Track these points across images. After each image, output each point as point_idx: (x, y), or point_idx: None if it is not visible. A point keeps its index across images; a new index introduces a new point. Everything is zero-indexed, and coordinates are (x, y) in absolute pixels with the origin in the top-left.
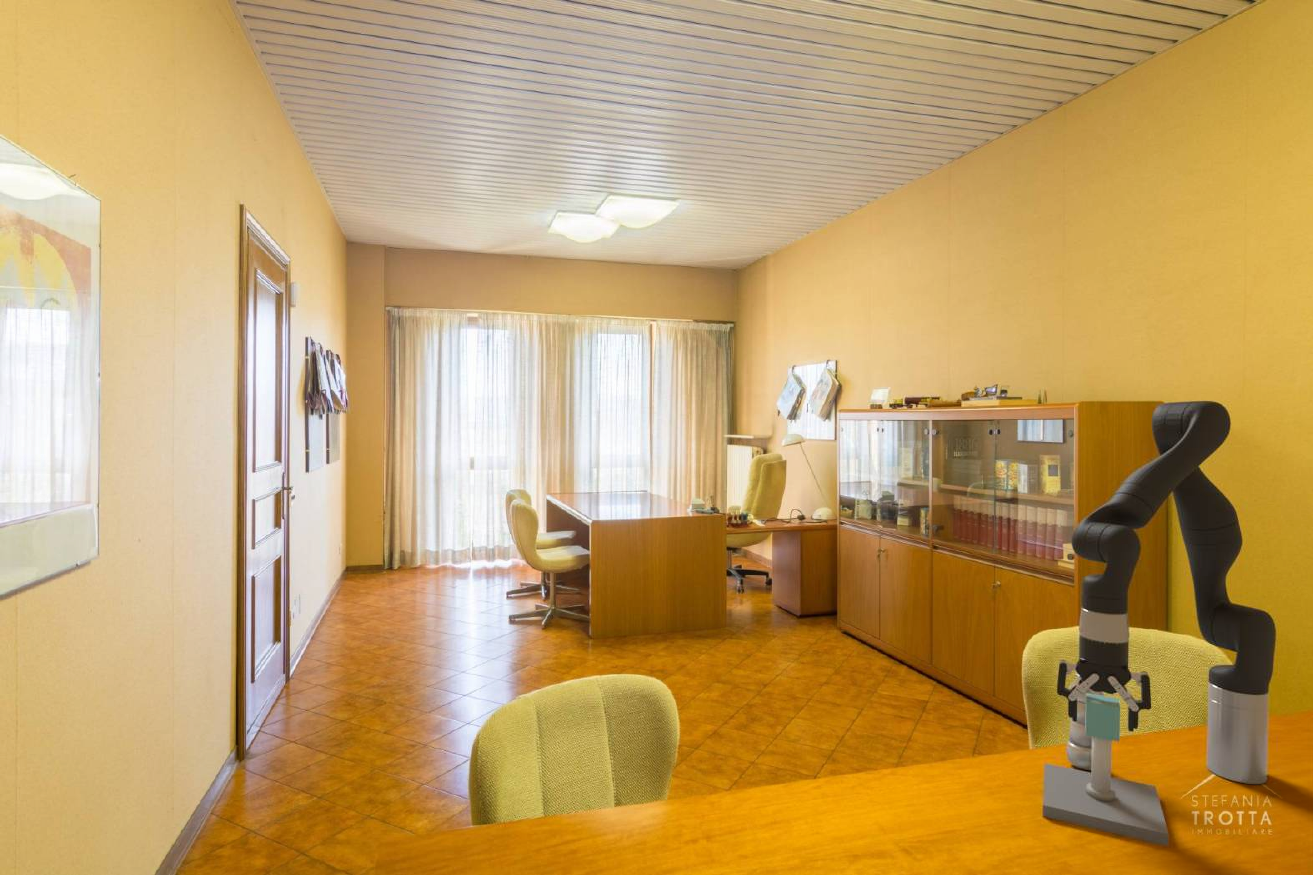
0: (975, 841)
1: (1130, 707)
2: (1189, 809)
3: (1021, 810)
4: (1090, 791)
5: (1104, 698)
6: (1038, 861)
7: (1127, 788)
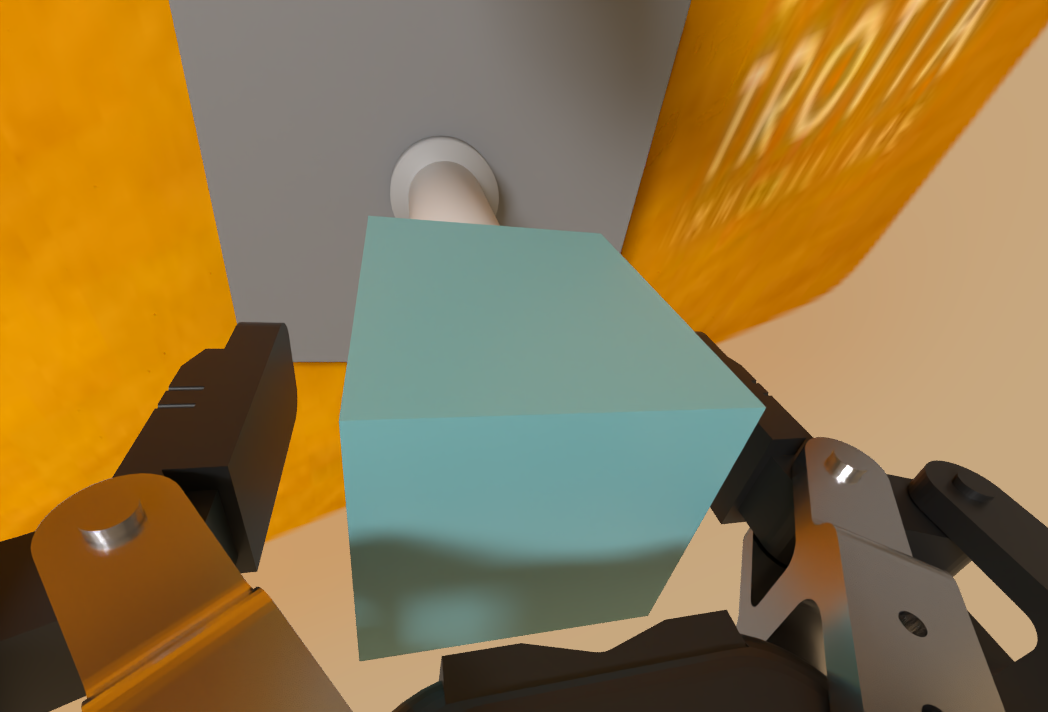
0: None
1: (747, 554)
2: (750, 56)
3: (180, 332)
4: None
5: (579, 499)
6: (285, 522)
7: (564, 64)
